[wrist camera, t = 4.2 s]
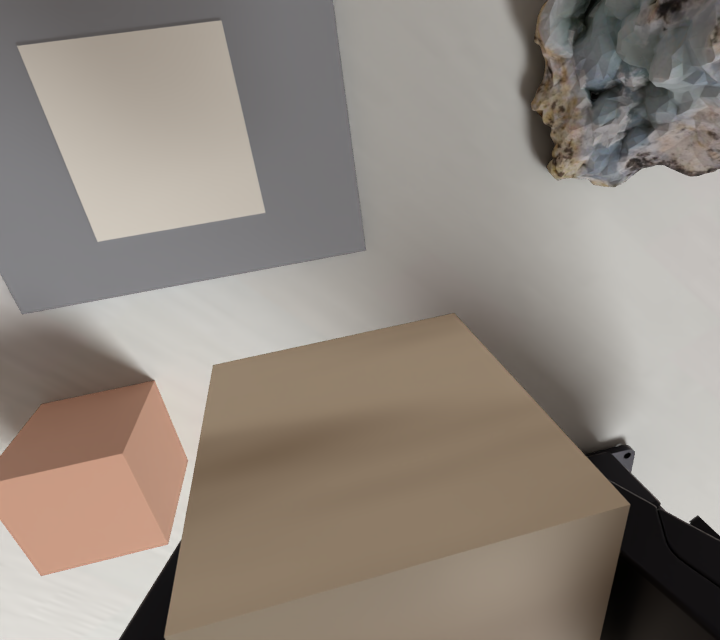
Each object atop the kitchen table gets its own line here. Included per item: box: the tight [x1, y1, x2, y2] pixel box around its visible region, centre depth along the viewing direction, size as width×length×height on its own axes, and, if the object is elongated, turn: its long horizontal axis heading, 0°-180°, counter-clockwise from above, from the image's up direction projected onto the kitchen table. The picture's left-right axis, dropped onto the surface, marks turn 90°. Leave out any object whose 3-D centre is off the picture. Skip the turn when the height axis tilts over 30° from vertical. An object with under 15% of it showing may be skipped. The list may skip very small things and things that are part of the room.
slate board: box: [0, 0, 366, 314], centre depth 16 cm, size 11×14×1 cm
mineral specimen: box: [531, 0, 720, 187], centre depth 16 cm, size 10×8×10 cm
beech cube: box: [164, 313, 630, 640], centre depth 8 cm, size 5×5×5 cm
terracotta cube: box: [0, 380, 188, 576], centre depth 19 cm, size 5×5×5 cm
